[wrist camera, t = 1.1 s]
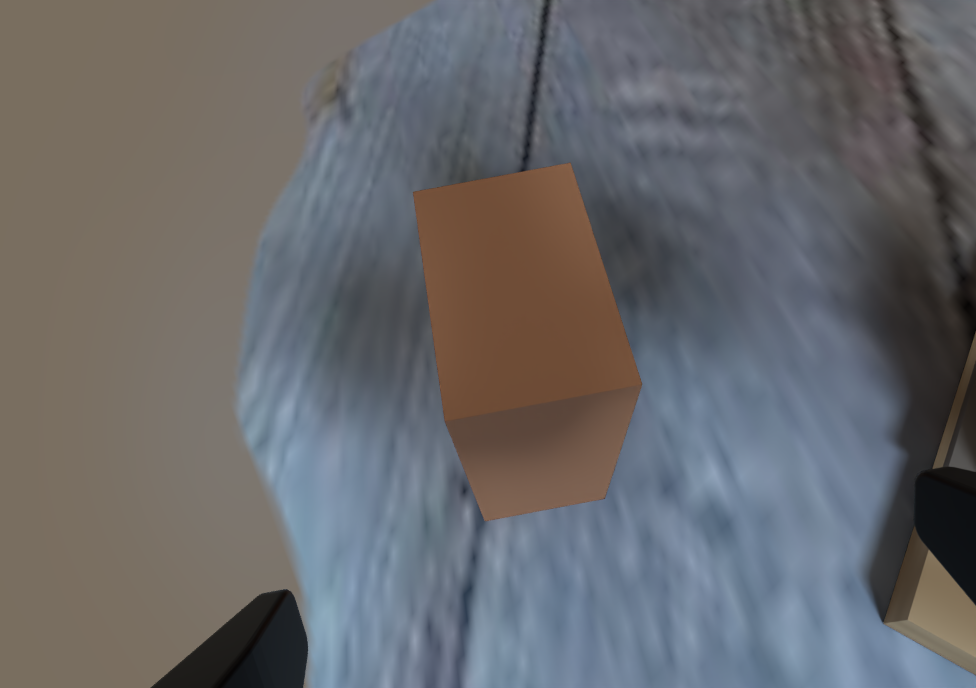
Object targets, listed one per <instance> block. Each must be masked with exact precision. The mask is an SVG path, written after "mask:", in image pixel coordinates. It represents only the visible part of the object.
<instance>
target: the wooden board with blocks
mask: <svg viewBox="0 0 976 688" xmlns="http://www.w3.org/2000/svg"><path fill="white" fill-rule="evenodd" d="M940 467H956V468H961V469H965V470H970V471H975V472H976V333H975V336H974V339H973V342H972V345H971V349H970V352H969V355H968V358H967V361H966V364H965V367H964V371H963V374H962V377H961V380H960V383H959V386H958V389H957V393H956V396H955V399H954V402H953V405H952V408H951V412H950V415H949V418H948V421H947V424H946V427H945V430H944V434H943V437H942V440H941V443H940V446H939V449H938V453H937V456H936V459H935V462H934V465H933V468H932V469H935V468H940ZM883 624H885V625H887V626H888V627H890V628H892V629H894V630H896V631H897V632H899V633H901V634H903V635H905V636H906V637H908V638H910V639H912V640H914V641H915V642H917V643H919V644H921V645H922V646H924V647H926V648H928V649H930V650H931V651H933V652H935V653H937V654H939V655H940V656H942V657H944V658H946V659H948V660H949V661H951V662H953V663H955V664H956V665H958V666H960V667H962V668H964V669H965V670H967V671H969V672H971V673H973V674H974V675H976V606H975V604H974V603H973V602H972V601H971V600H970V598H969V597H968V596H967V595H966V594H965V592H964V591H963V590H962V589H961V588H960V586H959V585H958V584H957V583H956V582H955V580H954V579H953V578H952V577H951V576H950V574H949V573H948V572H947V571H946V570H945V568H944V567H943V566H942V565H941V564H940V562H939V561H938V560H937V559H936V558H935V556H934V555H933V554H932V553H931V552H930V550H929V549H928V548H927V547H926V546H925V544H924V543H923V542H922V541H921V539H920V538H919V536H918V534H917V532H916V529H915V525H914V528H913V531H912V535H911V538H910V541H909V544H908V547H907V550H906V553H905V557H904V560H903V563H902V566H901V569H900V572H899V575H898V579H897V582H896V585H895V588H894V591H893V594H892V598H891V601H890V604H889V607H888V610H887V613H886V616H885V620H884V623H883Z"/></svg>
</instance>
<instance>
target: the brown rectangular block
mask: <svg viewBox="0 0 976 688" xmlns="http://www.w3.org/2000/svg"><path fill="white" fill-rule="evenodd" d="M413 196H414V203H415V210H416V217H417V224H418V232H419V239H420V246H421V253H422V261H423V268H424V275H425V282H426V289H427V297H428V304H429V311H430V318H431V326H432V333H433V340H434V347H435V354H436V362H437V369H438V376H439V383H440V391H441V398H442V405H443V412H444V419H445V423H446V426H447V428H448V431H449V433H450V436H451V438H452V441H453V443H454V446H455V448H456V451H457V453H458V456H459V458H460V461H461V463H462V466H463V468H464V471H465V473H466V475H467V478H468V480H469V483H470V485H471V488H472V490H473V493H474V495H475V498H476V500H477V503H478V505H479V508H480V510H481V513H482V515H483V518H484V520H485V521H489V520H495V519H500V518H505V517H510V516H516V515H521V514H526V513H532V512H537V511H542V510H548V509H553V508H558V507H564V506H569V505H574V504H579V503H585V502H590V501H595V500H601V499H605V496H606V493H607V490H608V487H609V484H610V481H611V478H612V475H613V472H614V469H615V466H616V463H617V460H618V457H619V454H620V451H621V448H622V445H623V442H624V439H625V436H626V432H627V429H628V426H629V423H630V420H631V417H632V414H633V411H634V408H635V405H636V402H637V399H638V396H639V393H640V390H641V387H642V382H641V379H640V376H639V373H638V370H637V366H636V363H635V360H634V357H633V354H632V351H631V348H630V345H629V342H628V339H627V336H626V333H625V329H624V326H623V323H622V320H621V317H620V314H619V311H618V308H617V305H616V302H615V299H614V296H613V292H612V289H611V286H610V283H609V280H608V277H607V274H606V271H605V268H604V265H603V262H602V258H601V255H600V252H599V249H598V246H597V243H596V240H595V237H594V234H593V231H592V228H591V225H590V221H589V218H588V215H587V212H586V209H585V206H584V203H583V200H582V197H581V194H580V191H579V188H578V184H577V181H576V178H575V175H574V172H573V169H572V166H571V163H567V164H561V165H556V166H550V167H545V168H540V169H534V170H529V171H523V172H518V173H513V174H507V175H502V176H497V177H491V178H486V179H480V180H475V181H470V182H464V183H459V184H453V185H448V186H443V187H437V188H432V189H426V190H421V191H416V192H413Z"/></svg>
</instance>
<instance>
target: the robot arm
mask: <svg viewBox="0 0 976 688" xmlns="http://www.w3.org/2000/svg"><path fill="white" fill-rule="evenodd" d="M914 525H915V529H916V532H917V534H918V536H919V538H920V539H921V541H922V542H923V543H924V544H925V546H926V547H927V548H928V549H929V550H930V552H931V553H932V554H933V555H934V556H935V558H936V559H937V560H938V561H939V562H940V564H941V565H942V566H943V567H944V568H945V570H946V571H947V572H948V573H949V574H950V576H951V577H952V578H953V579H954V580H955V582H956V583H957V584H958V585H959V586H960V588H961V589H962V590H963V591H964V592H965V594H966V595H967V596H968V597H969V598H970V600H971V601H972V602H973V603H974V604H975V606H976V472H975V471H970V470H965V469H961V468H956V467H940V468H935V469H930V470H925V471H921V472H920V473H919V474H918V475H917V476H916V479H915V491H914ZM307 656H308V641H307V636H306V632H305V629H304V626H303V623H302V620H301V616H300V613H299V610H298V607H297V603H296V600H295V597H294V595H293V594H292V592H291V591H289V590H287V589H284V590H278V591H273V592H267V593H263V594H261V595H259V596H257V597H256V598H255V599H254V600H253V601H251V602H250V603H249V604H248V605H247V606H246V607H244V608H243V609H242V610H241V611H240V612H239V613H237V614H236V615H235V616H234V617H233V618H232V619H230V620H229V621H228V622H227V623H226V624H225V625H223V626H222V627H221V628H220V629H219V630H218V631H216V632H215V633H214V634H213V635H212V636H211V637H209V638H208V639H207V640H206V641H205V642H204V643H203V644H201V645H200V646H199V647H198V648H196V650H194V651H193V652H192V653H191V654H190V655H188V656H187V657H186V658H185V659H184V660H182V661H181V662H180V663H179V664H178V665H177V666H176V667H174V668H173V669H172V670H171V671H170V672H168V674H166V675H165V676H164V677H163V678H161V679H160V680H159V681H158V682H157V683H156V684H154V685H153V686H152V687H151V688H303V685H304V678H305V671H306V663H307Z"/></svg>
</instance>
